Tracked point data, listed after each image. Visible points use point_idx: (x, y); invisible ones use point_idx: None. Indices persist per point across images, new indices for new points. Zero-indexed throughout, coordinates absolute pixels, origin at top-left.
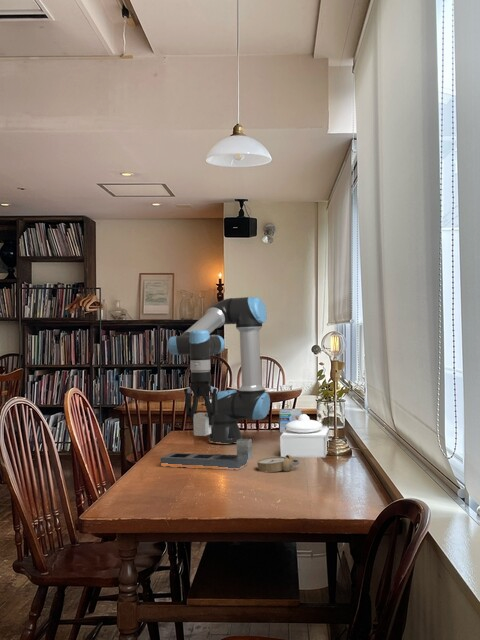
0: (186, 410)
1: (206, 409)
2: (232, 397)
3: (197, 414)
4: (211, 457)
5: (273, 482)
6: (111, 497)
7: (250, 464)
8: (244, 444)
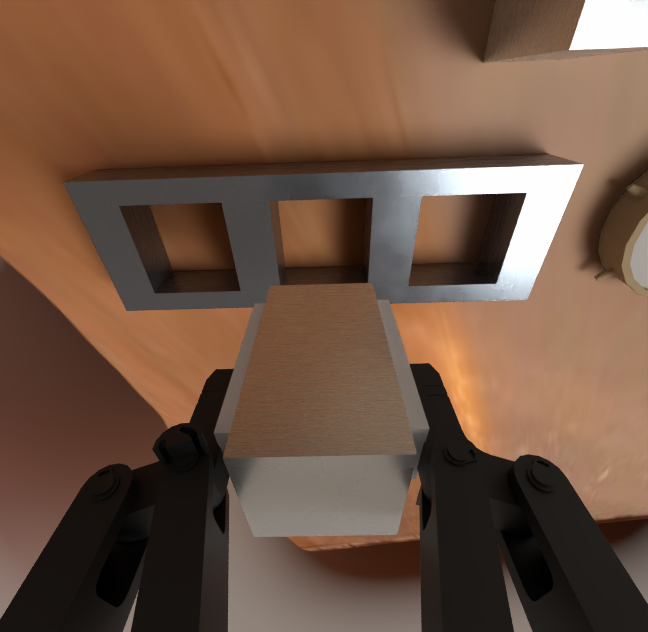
0: (111, 569)
1: (421, 586)
2: None
3: (302, 529)
4: (376, 262)
5: (624, 383)
6: None
7: (569, 136)
8: (626, 49)
